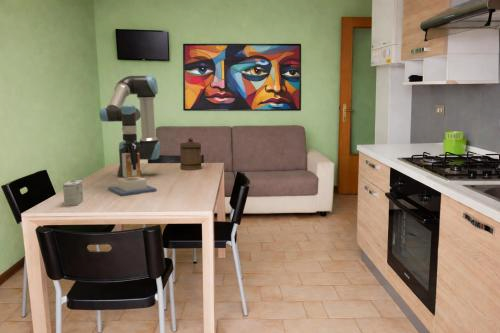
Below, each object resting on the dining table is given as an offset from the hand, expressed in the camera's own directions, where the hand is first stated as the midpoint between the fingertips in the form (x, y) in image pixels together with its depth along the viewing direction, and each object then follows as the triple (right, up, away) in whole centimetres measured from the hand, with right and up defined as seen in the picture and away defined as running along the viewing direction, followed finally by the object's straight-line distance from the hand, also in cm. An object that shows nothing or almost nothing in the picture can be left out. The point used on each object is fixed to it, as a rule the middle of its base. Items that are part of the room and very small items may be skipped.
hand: (131, 174), depth 265 cm
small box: (0, -1, 0) cm, 1 cm away
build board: (0, -9, +1) cm, 9 cm away
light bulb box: (-22, -14, -27) cm, 38 cm away
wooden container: (+24, +3, +76) cm, 79 cm away
